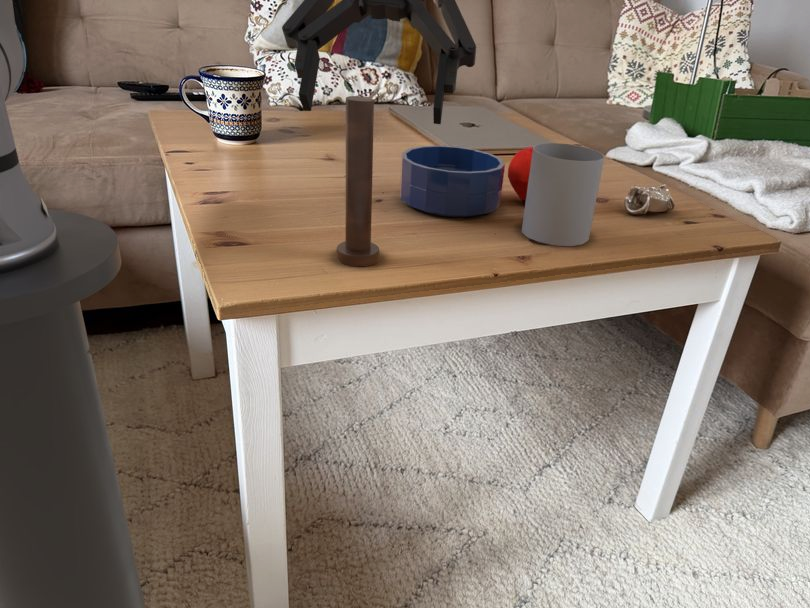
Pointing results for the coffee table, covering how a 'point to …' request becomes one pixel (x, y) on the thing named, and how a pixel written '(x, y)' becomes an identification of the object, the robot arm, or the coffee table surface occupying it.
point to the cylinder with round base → (358, 184)
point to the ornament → (648, 200)
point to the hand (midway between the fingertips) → (371, 110)
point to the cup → (561, 193)
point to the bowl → (451, 180)
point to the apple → (520, 172)
